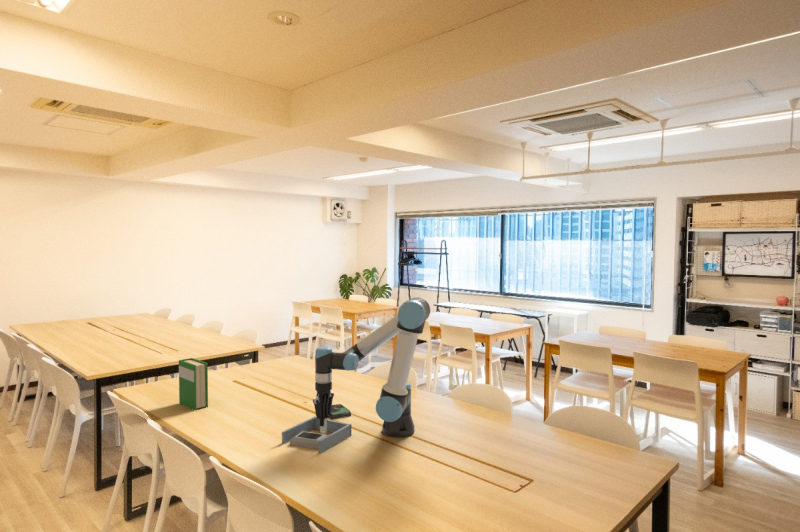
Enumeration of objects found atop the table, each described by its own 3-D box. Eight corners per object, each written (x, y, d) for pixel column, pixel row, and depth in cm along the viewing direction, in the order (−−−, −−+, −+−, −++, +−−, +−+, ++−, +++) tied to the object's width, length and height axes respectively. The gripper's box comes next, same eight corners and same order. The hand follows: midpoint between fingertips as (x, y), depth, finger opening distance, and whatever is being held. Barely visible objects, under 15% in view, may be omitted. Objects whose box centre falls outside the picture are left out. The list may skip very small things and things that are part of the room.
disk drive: (322, 411, 259) (332, 420, 247) (322, 406, 259) (332, 414, 247) (340, 408, 265) (351, 416, 252) (340, 403, 265) (351, 411, 252)
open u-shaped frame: (351, 435, 226) (351, 424, 225) (320, 453, 206) (320, 441, 206) (314, 426, 236) (314, 416, 236) (282, 443, 216) (281, 431, 216)
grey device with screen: (320, 441, 209) (289, 437, 215) (320, 450, 210) (289, 445, 215) (330, 433, 218) (301, 429, 224) (330, 442, 219) (301, 437, 224)
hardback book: (208, 407, 264) (207, 362, 263) (194, 410, 259) (193, 365, 258) (192, 400, 276) (192, 357, 275) (179, 403, 270) (178, 360, 269)
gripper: (325, 376, 232) (325, 426, 233) (307, 383, 220) (307, 435, 221) (338, 379, 228) (338, 429, 229) (321, 385, 217) (321, 438, 218)
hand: (323, 432), depth 225 cm, fingers closed
